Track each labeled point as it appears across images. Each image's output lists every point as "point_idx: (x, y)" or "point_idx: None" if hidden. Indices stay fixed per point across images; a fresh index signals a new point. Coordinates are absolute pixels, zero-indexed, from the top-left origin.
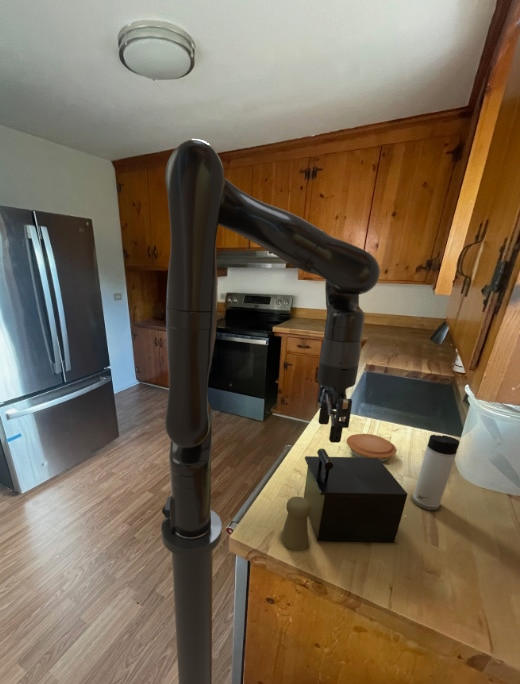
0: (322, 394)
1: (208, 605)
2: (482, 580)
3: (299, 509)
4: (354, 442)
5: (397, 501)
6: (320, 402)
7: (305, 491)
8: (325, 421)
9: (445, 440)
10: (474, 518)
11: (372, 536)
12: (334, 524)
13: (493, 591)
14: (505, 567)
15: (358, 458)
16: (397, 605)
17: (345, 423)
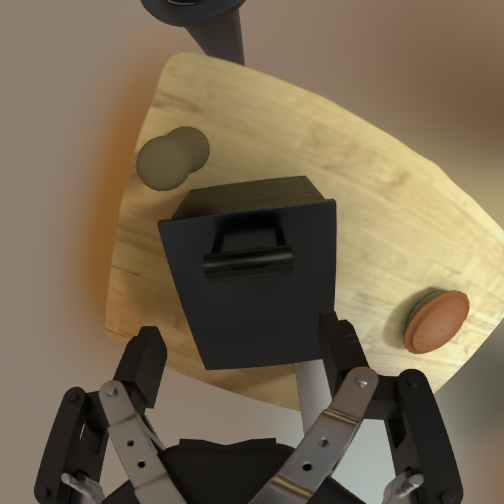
0: (278, 493)
1: (203, 45)
2: (182, 358)
3: (137, 167)
4: (448, 304)
5: None
6: (324, 415)
7: (302, 182)
8: (321, 340)
9: None
10: (282, 385)
11: None
12: None
13: (171, 360)
14: (208, 380)
15: None
16: (116, 273)
17: (86, 426)
